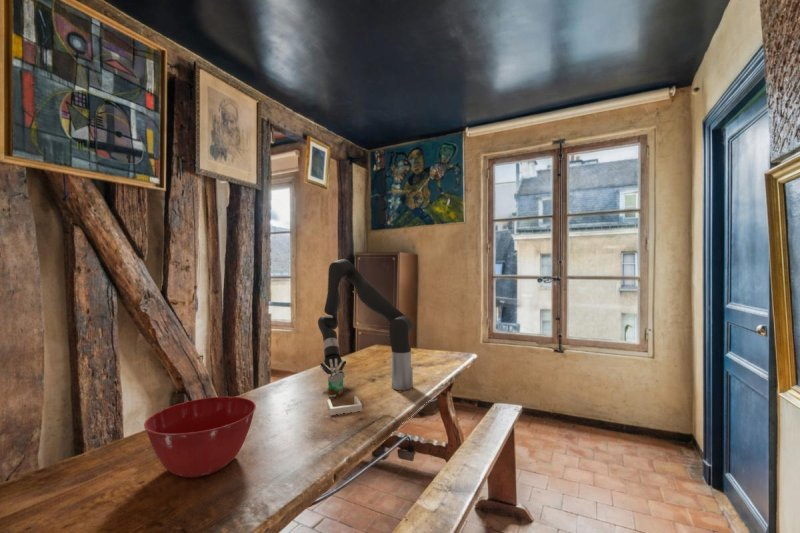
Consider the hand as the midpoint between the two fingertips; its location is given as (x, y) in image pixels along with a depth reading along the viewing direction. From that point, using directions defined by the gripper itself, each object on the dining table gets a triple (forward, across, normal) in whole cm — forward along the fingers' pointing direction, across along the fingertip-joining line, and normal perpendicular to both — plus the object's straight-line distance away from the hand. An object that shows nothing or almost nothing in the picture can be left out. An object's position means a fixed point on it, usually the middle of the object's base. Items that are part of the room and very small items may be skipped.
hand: (335, 380), depth 173 cm
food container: (+9, 0, -3) cm, 9 cm away
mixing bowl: (+41, -46, -35) cm, 71 cm away
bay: (+20, 0, -15) cm, 25 cm away
